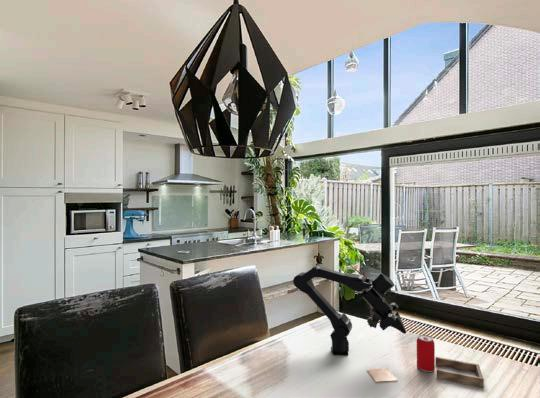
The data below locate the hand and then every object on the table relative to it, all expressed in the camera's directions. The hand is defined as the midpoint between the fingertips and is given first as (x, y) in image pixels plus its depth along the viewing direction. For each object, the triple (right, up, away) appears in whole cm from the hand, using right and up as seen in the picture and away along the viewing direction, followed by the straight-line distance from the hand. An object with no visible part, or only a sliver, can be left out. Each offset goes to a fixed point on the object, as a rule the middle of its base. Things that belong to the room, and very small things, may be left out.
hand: (405, 332), depth 128 cm
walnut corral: (+16, -12, -7) cm, 21 cm away
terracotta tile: (-12, -13, -8) cm, 19 cm away
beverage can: (+7, -13, -3) cm, 15 cm away
